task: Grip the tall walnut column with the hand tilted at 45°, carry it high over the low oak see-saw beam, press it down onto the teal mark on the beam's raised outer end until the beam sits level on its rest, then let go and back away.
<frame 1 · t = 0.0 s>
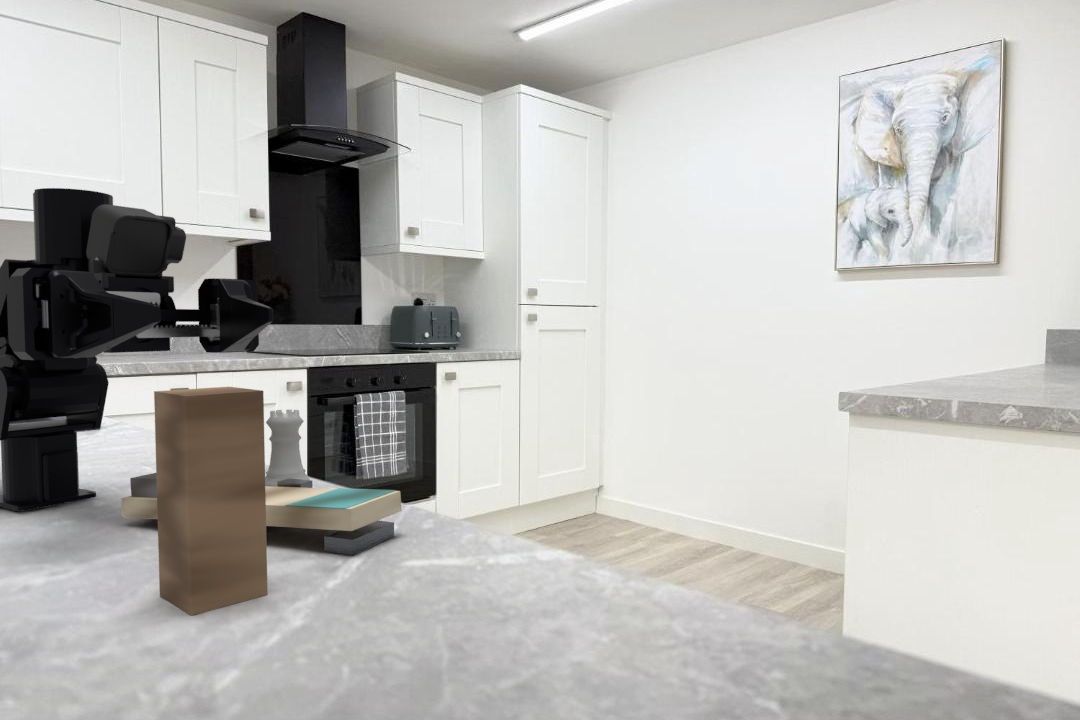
hand: (218, 314, 55), 17 cm above the countertop, tool horizontal, fingers open, 9 cm apart
seesaw stand: (258, 530, 59), on the countertop
rook chess piece: (286, 500, 70), on the countertop
seesaw beam: (257, 499, 59), point 2 cm above the countertop, hinge at -3.0°
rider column: (213, 595, 45), on the countertop
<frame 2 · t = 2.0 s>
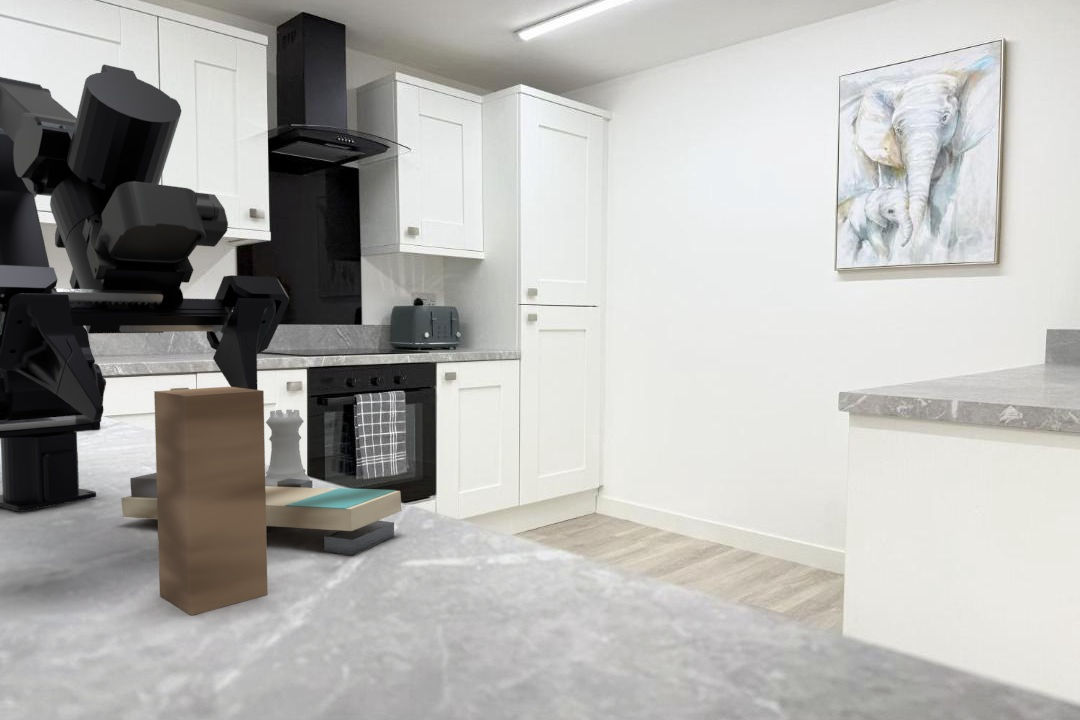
hand: (181, 409, 47), 11 cm above the countertop, tool tilted 45°, fingers open, 9 cm apart
nothing on the countertop moved.
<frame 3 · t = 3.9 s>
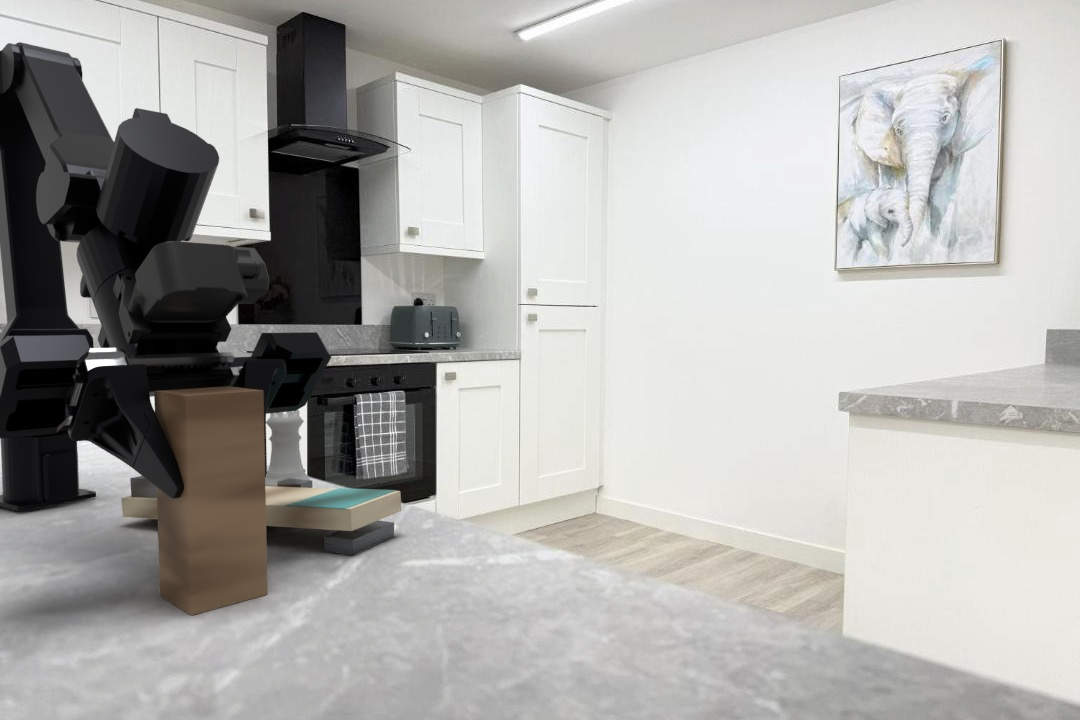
hand: (221, 486, 43), 7 cm above the countertop, tool tilted 45°, fingers closed on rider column, 4 cm apart
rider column: (213, 595, 45), on the countertop, touching gripper
everything else where it was.
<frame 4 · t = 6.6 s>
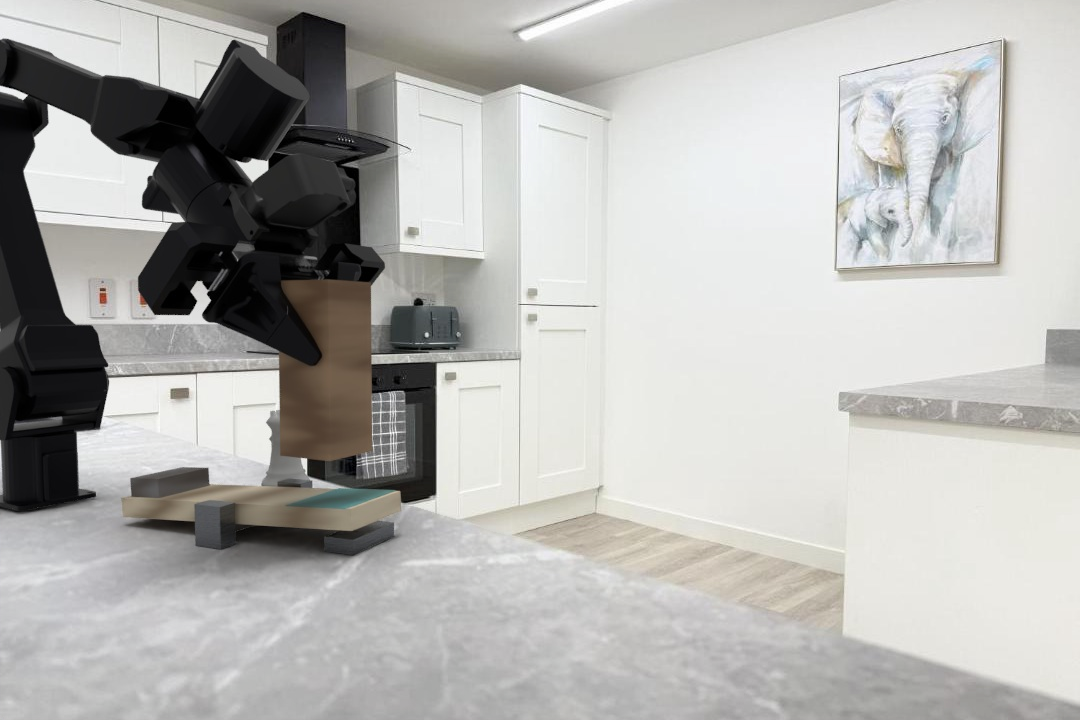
hand: (341, 359, 53), 13 cm above the countertop, tool tilted 45°, fingers closed on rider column, 4 cm apart
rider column: (327, 453, 54), point 7 cm above the countertop, touching gripper
everything else where it was.
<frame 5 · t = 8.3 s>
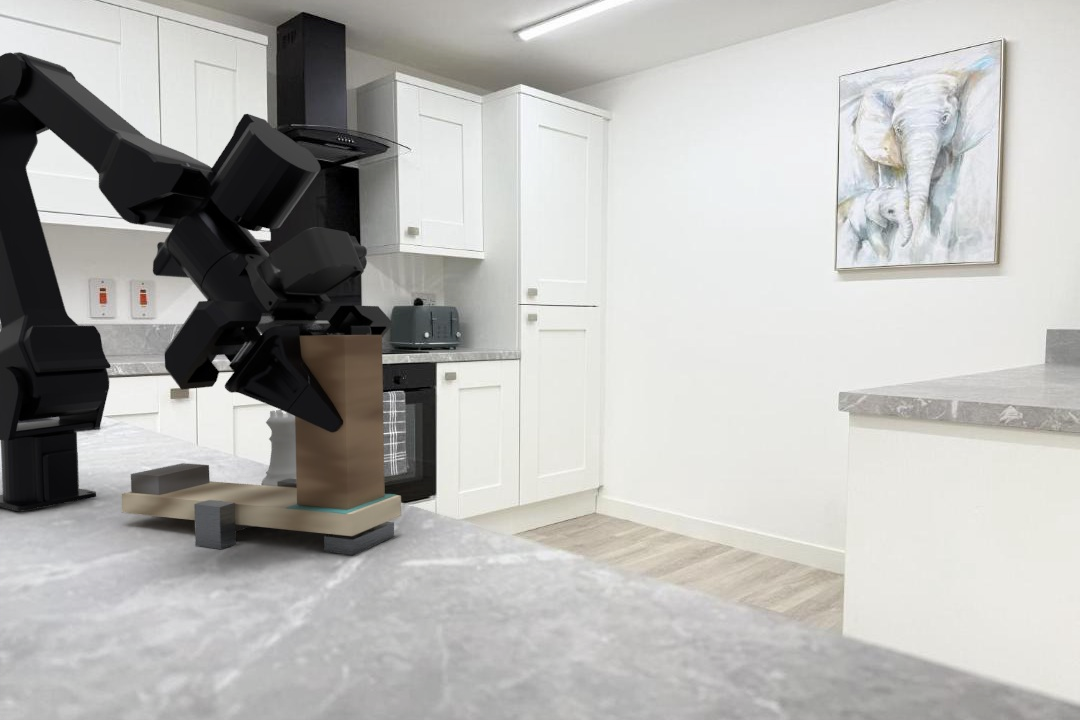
hand: (359, 423, 55), 9 cm above the countertop, tool tilted 45°, fingers closed on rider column, 4 cm apart
seesaw beam: (257, 499, 59), point 2 cm above the countertop, hinge at -1.2°, touching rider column
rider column: (341, 500, 56), point 3 cm above the countertop, touching gripper, seesaw beam
everything else where it was.
when the fingers open (9 cm above the countertop, at t = 9.4 s): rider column stays where it is, resting on seesaw beam.
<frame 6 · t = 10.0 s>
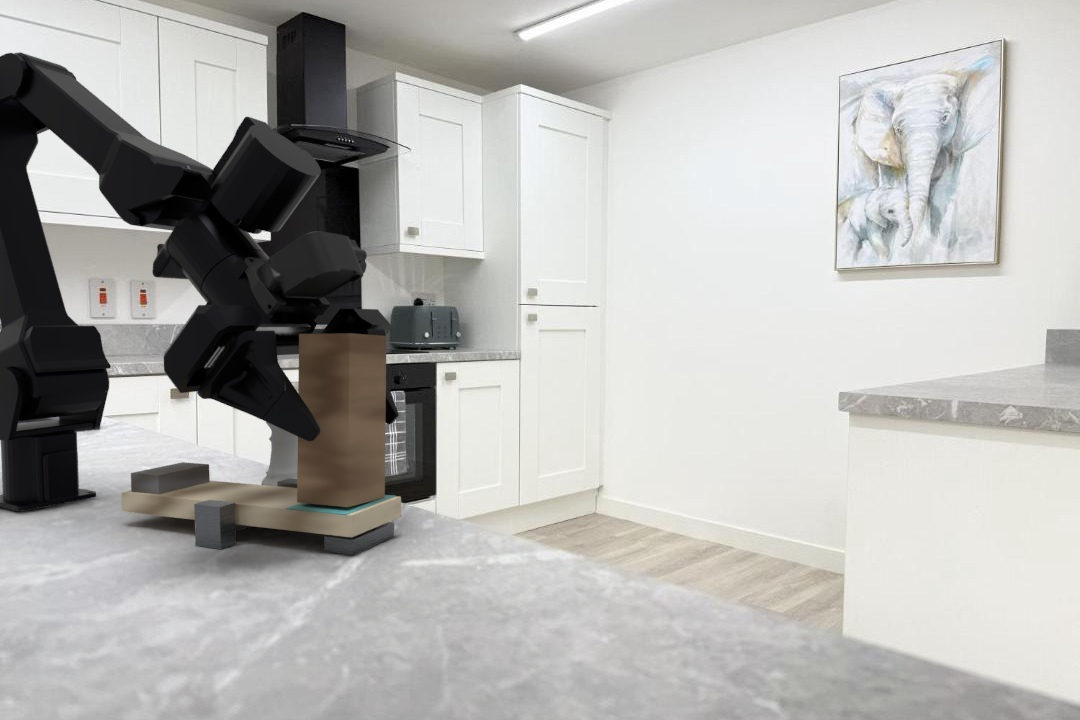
hand: (358, 427, 55), 8 cm above the countertop, tool tilted 45°, fingers open, 9 cm apart
seesaw beam: (257, 499, 59), point 2 cm above the countertop, hinge at -0.7°, touching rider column
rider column: (341, 499, 56), point 3 cm above the countertop, touching seesaw beam
everything else where it was.
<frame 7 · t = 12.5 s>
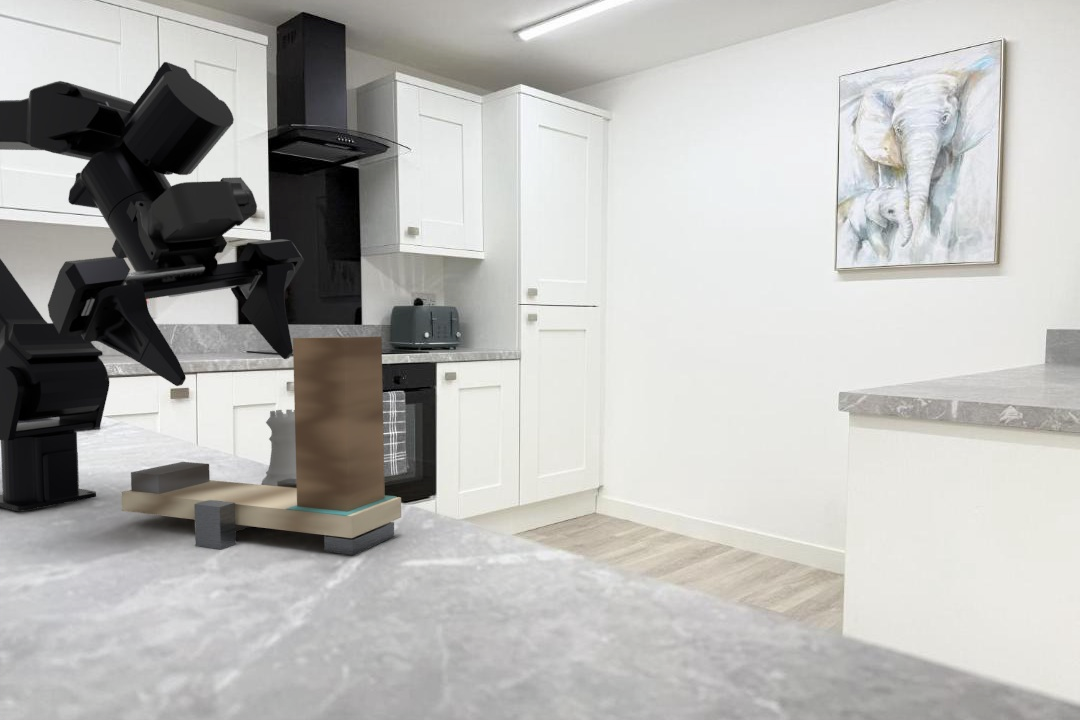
hand: (238, 368, 59), 12 cm above the countertop, tool tilted 40°, fingers open, 9 cm apart
nothing on the countertop moved.
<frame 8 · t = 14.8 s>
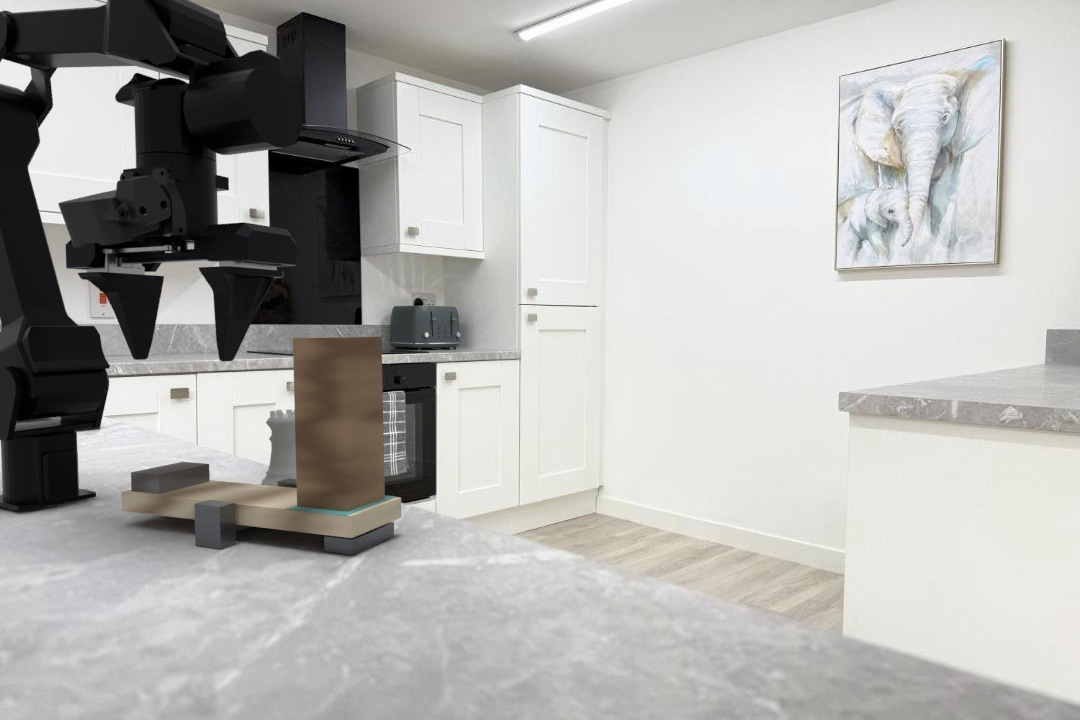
hand: (182, 360, 60), 13 cm above the countertop, tool pointing down, fingers open, 9 cm apart
nothing on the countertop moved.
at the end: seesaw beam at +0° (first picture: -3°); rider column 0.2 cm from the target spot on the seesaw beam, point 0.9 cm above the seesaw beam's base; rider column tilted 0° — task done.
